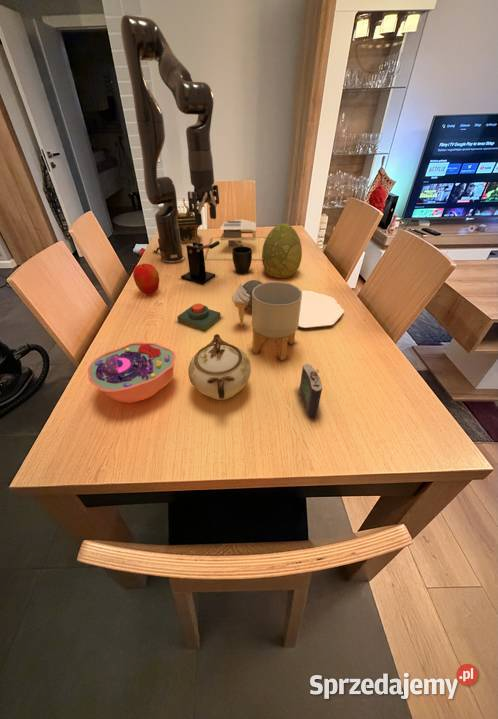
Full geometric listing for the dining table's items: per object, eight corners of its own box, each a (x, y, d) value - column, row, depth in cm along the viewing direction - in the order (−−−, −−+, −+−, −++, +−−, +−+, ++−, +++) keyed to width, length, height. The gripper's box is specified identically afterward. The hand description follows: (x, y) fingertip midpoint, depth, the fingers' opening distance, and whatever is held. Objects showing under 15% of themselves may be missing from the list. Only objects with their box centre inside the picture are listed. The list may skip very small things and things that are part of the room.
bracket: (215, 276, 126) (212, 243, 117) (202, 285, 120) (198, 250, 111) (194, 271, 130) (190, 238, 121) (181, 279, 124) (175, 245, 115)
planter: (245, 339, 92) (244, 286, 80) (283, 330, 95) (287, 278, 84) (262, 365, 83) (264, 309, 71) (303, 354, 86) (311, 299, 75)
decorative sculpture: (271, 262, 137) (273, 216, 124) (305, 269, 131) (311, 221, 118) (254, 276, 126) (255, 226, 113) (291, 284, 120) (296, 233, 107)
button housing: (178, 322, 99) (176, 311, 97) (194, 309, 105) (193, 299, 103) (205, 331, 95) (203, 320, 93) (220, 318, 101) (220, 307, 99)
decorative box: (201, 236, 165) (197, 196, 152) (203, 242, 158) (199, 201, 145) (164, 239, 161) (156, 198, 149) (164, 245, 154) (156, 203, 141)
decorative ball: (272, 311, 104) (274, 285, 98) (246, 317, 101) (246, 290, 95) (260, 298, 111) (261, 273, 105) (235, 304, 108) (234, 278, 102)
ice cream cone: (252, 322, 99) (252, 280, 89) (246, 331, 95) (246, 288, 85) (236, 319, 100) (235, 277, 91) (230, 328, 96) (228, 285, 87)
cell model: (184, 403, 72) (177, 368, 65) (95, 422, 68) (77, 387, 60) (176, 360, 84) (169, 326, 77) (101, 373, 80) (86, 339, 73)
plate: (292, 289, 117) (293, 285, 116) (351, 306, 107) (352, 303, 106) (259, 315, 102) (259, 311, 101) (323, 338, 92) (323, 334, 91)
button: (190, 311, 97) (190, 307, 96) (197, 307, 100) (196, 302, 99) (199, 314, 96) (199, 310, 95) (206, 309, 98) (205, 305, 97)
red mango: (153, 300, 110) (146, 269, 103) (132, 297, 113) (124, 266, 105) (166, 289, 117) (160, 259, 109) (146, 286, 119) (139, 256, 111)
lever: (220, 245, 113) (218, 239, 112) (213, 250, 110) (210, 243, 109) (197, 250, 120) (195, 244, 119) (189, 254, 117) (187, 248, 116)
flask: (297, 390, 75) (302, 357, 68) (308, 389, 76) (314, 356, 69) (307, 419, 68) (314, 386, 61) (320, 417, 69) (328, 385, 62)
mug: (251, 264, 136) (251, 243, 130) (251, 275, 126) (252, 253, 120) (233, 264, 136) (233, 243, 130) (232, 275, 127) (231, 253, 120)
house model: (269, 259, 140) (270, 232, 132) (205, 259, 140) (203, 232, 132) (267, 238, 162) (268, 214, 155) (212, 238, 163) (210, 213, 155)
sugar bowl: (256, 415, 69) (256, 367, 59) (190, 422, 68) (180, 374, 58) (246, 360, 84) (245, 315, 74) (192, 365, 83) (184, 319, 73)
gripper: (204, 163, 101) (209, 215, 111) (177, 169, 91) (185, 225, 102) (223, 165, 98) (226, 218, 108) (197, 171, 89) (203, 228, 99)
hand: (206, 221), depth 105 cm, fingers open, 8 cm apart
